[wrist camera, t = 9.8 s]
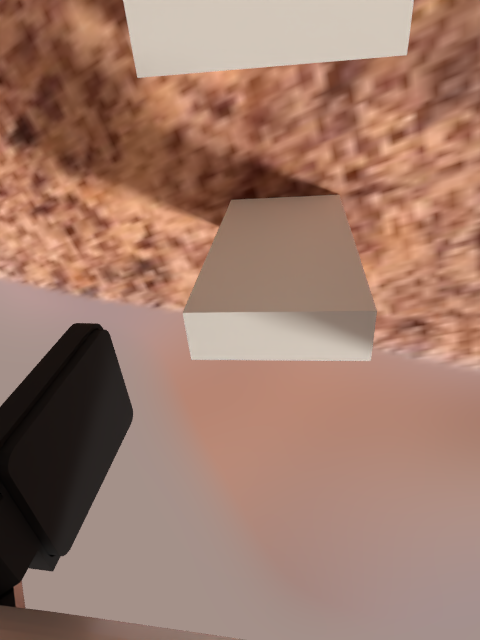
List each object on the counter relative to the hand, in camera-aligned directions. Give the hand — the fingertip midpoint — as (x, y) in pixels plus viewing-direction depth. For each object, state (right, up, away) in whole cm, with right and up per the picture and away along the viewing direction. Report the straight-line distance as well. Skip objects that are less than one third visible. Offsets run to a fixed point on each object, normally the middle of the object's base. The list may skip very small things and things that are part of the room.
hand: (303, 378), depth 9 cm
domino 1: (0, +12, +6) cm, 14 cm away
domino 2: (+1, +6, +10) cm, 12 cm away
